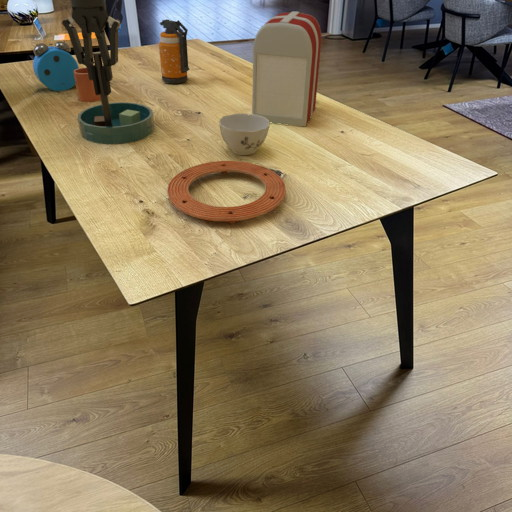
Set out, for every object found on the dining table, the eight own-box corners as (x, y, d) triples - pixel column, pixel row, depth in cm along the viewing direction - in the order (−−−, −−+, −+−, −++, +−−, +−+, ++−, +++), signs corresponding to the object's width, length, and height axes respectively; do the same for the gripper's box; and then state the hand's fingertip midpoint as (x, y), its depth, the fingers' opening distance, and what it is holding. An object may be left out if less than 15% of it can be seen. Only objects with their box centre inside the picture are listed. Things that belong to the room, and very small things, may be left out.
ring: (267, 237, 91) (267, 226, 89) (147, 215, 96) (145, 204, 95) (297, 179, 110) (298, 169, 109) (195, 163, 116) (195, 154, 115)
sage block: (121, 128, 132) (118, 113, 130) (129, 123, 135) (127, 109, 133) (133, 130, 131) (131, 116, 129) (141, 125, 134) (139, 111, 132)
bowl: (70, 145, 124) (66, 126, 121) (94, 118, 140) (91, 101, 137) (145, 147, 123) (143, 128, 120) (160, 120, 139) (159, 103, 136)
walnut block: (96, 136, 127) (94, 121, 125) (97, 130, 130) (94, 116, 128) (112, 135, 128) (109, 120, 126) (112, 129, 131) (110, 115, 129)
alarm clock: (77, 84, 165) (68, 37, 157) (83, 89, 161) (74, 41, 152) (38, 90, 159) (26, 42, 150) (43, 95, 155) (31, 46, 146)
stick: (105, 134, 125) (91, 54, 113) (107, 131, 127) (94, 52, 115) (112, 134, 125) (99, 54, 113) (114, 132, 127) (101, 52, 115)
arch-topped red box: (316, 107, 150) (325, 12, 134) (306, 127, 136) (315, 24, 121) (265, 102, 154) (268, 9, 138) (250, 121, 140) (251, 19, 124)
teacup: (274, 159, 119) (275, 128, 114) (224, 163, 116) (223, 132, 112) (260, 136, 131) (260, 107, 126) (214, 139, 128) (213, 110, 123)
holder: (75, 103, 150) (69, 73, 145) (83, 95, 156) (77, 67, 150) (98, 103, 150) (93, 74, 144) (105, 96, 156) (100, 67, 150)
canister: (174, 76, 176) (169, 16, 164) (197, 81, 170) (194, 20, 159) (157, 81, 170) (150, 19, 158) (180, 87, 165) (175, 24, 153)
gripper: (123, -15, 109) (136, 89, 123) (58, -17, 109) (79, 88, 123) (114, -10, 103) (129, 99, 117) (45, -12, 103) (69, 97, 117)
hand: (103, 93), depth 120 cm, fingers closed on stick, 2 cm apart
